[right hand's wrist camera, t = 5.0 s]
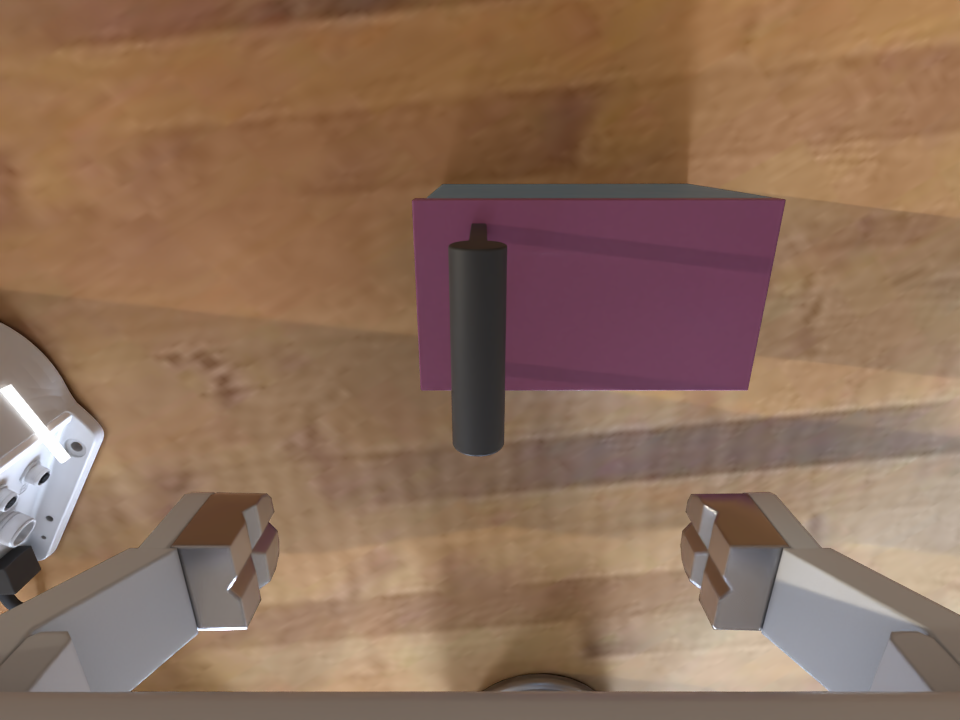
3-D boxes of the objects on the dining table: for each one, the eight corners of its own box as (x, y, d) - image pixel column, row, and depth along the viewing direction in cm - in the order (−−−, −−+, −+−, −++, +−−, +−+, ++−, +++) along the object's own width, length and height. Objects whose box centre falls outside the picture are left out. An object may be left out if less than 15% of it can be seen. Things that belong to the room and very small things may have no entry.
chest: (445, 320, 39) (431, 382, 28) (441, 184, 35) (424, 198, 25) (669, 320, 39) (739, 382, 28) (688, 183, 35) (774, 197, 25)
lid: (422, 383, 28) (398, 477, 20) (414, 198, 25) (381, 221, 17) (739, 383, 28) (844, 477, 20) (775, 197, 25) (918, 220, 17)
